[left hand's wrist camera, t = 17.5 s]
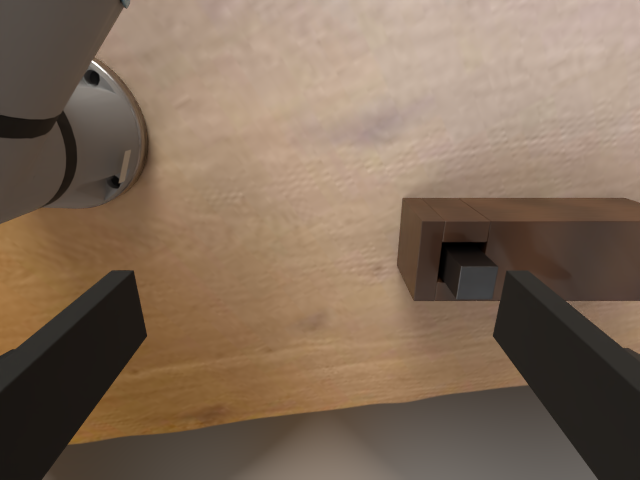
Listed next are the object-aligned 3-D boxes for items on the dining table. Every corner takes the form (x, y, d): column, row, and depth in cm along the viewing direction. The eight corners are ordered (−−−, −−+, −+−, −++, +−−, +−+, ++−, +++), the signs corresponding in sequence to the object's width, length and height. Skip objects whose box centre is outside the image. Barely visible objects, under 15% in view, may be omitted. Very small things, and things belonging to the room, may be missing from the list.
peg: (419, 245, 41) (456, 299, 30) (421, 220, 40) (461, 266, 29) (445, 245, 41) (492, 299, 30) (448, 220, 40) (499, 266, 29)
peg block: (396, 265, 42) (413, 301, 34) (402, 198, 39) (422, 221, 32) (604, 265, 42) (665, 301, 34) (625, 197, 39) (697, 221, 32)
